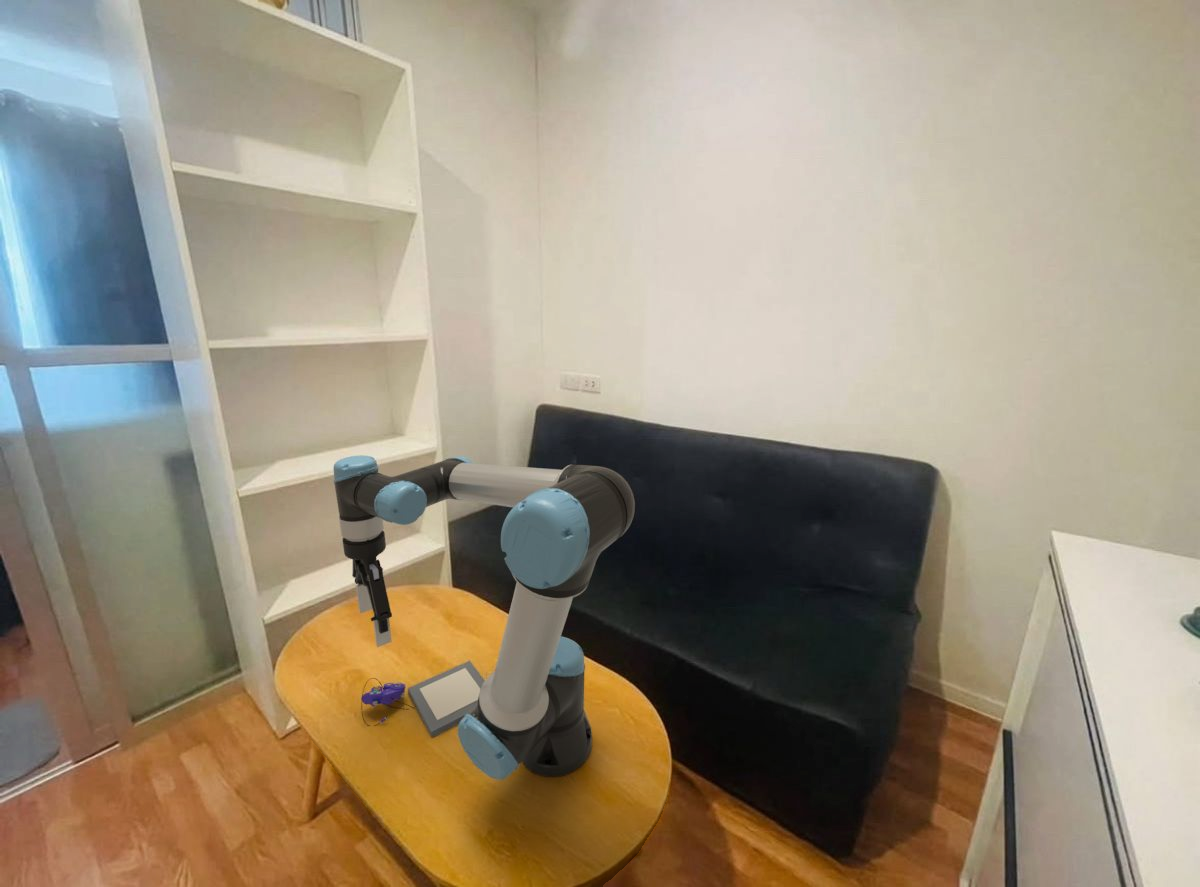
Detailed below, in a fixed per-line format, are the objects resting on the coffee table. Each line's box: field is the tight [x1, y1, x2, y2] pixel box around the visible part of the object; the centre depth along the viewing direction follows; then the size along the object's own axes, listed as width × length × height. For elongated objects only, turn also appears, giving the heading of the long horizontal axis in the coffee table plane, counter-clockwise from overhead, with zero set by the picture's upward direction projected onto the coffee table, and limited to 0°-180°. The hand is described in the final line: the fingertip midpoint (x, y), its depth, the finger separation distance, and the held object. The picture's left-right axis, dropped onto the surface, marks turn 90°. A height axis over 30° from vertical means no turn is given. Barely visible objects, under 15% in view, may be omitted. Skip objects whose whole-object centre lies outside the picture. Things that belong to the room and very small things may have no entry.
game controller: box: [360, 677, 416, 727], centre depth 107 cm, size 10×8×10 cm
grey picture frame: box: [407, 660, 486, 739], centre depth 110 cm, size 15×15×2 cm
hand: (374, 626), depth 102 cm, fingers open, 13 cm apart
